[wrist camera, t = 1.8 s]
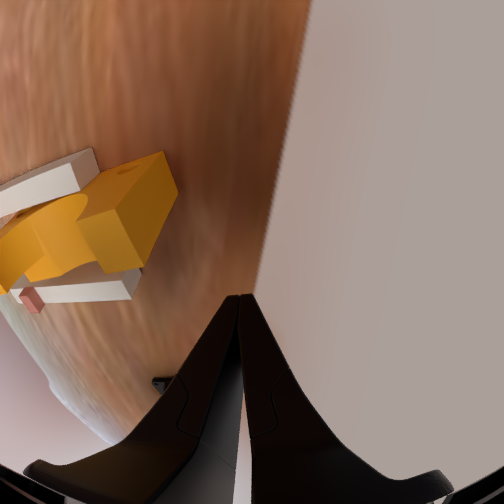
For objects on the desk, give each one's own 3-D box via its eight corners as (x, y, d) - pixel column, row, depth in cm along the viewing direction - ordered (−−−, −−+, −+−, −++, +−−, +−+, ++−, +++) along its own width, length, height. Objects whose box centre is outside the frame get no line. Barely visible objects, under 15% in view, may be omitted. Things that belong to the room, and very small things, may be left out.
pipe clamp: (50, 254, 18) (9, 316, 13) (23, 206, 16) (-30, 263, 11) (189, 218, 17) (163, 299, 12) (164, 149, 14) (114, 208, 9)
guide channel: (142, 275, 19) (127, 312, 16) (31, 285, 20) (14, 312, 17) (91, 145, 14) (58, 168, 11) (-18, 193, 15) (-44, 216, 12)
